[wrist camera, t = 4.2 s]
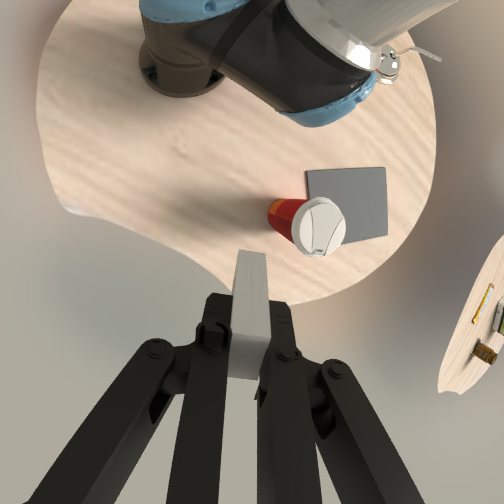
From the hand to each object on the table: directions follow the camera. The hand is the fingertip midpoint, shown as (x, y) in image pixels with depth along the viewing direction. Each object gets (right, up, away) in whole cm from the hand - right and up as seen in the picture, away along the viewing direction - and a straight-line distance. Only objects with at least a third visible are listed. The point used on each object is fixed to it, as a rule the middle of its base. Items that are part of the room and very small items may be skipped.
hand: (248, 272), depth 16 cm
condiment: (+96, -39, +69) cm, 124 cm away
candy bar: (+87, -18, +61) cm, 107 cm away
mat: (+19, +10, +34) cm, 40 cm away
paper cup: (+5, +7, +31) cm, 32 cm away
